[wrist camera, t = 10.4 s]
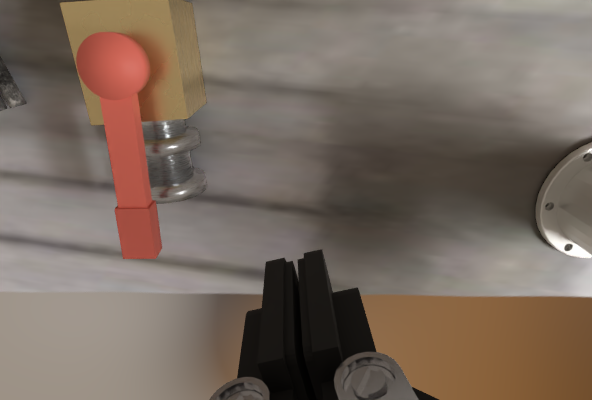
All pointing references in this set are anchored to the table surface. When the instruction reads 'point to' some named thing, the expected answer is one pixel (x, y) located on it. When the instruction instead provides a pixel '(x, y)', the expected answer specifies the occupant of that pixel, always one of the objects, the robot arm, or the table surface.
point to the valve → (9, 89)
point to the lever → (124, 134)
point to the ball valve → (154, 83)
